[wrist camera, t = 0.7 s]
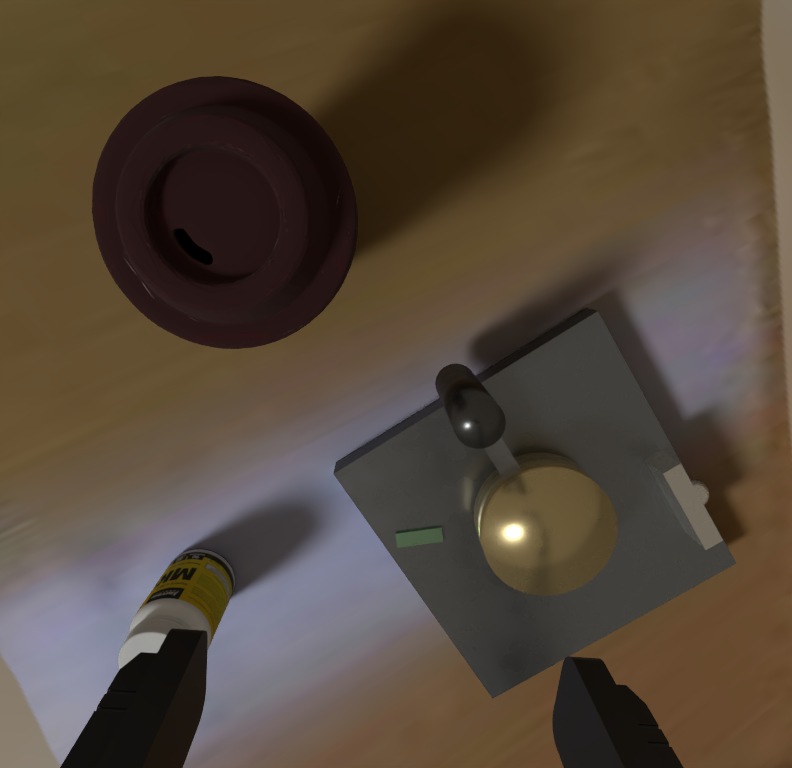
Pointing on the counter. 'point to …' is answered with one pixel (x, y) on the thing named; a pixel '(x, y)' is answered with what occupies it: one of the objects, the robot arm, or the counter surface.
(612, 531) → the cam capstan
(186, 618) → the supplement bottle
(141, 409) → the counter surface
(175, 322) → the coffee cup
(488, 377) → the stand
